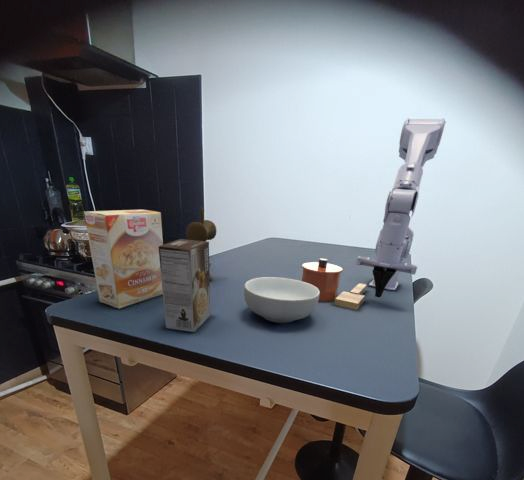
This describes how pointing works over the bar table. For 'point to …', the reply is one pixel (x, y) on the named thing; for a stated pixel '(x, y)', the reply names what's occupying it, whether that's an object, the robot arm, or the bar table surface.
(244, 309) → the bar table surface
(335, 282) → the pot
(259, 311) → the cereal bowl
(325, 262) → the pot lid
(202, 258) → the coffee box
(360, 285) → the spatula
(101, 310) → the bar table surface
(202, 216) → the kendama
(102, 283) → the coffeecake box
